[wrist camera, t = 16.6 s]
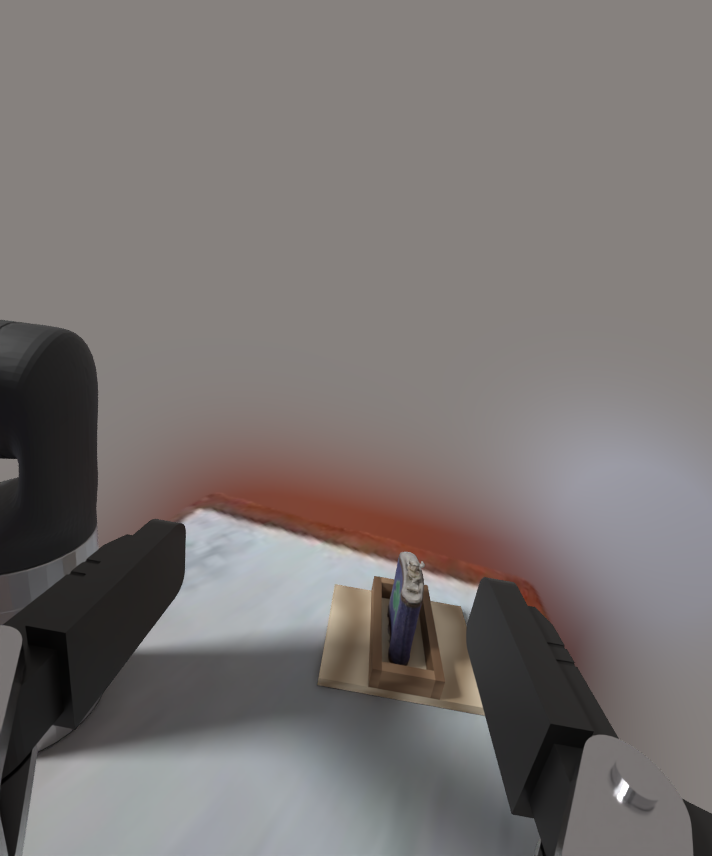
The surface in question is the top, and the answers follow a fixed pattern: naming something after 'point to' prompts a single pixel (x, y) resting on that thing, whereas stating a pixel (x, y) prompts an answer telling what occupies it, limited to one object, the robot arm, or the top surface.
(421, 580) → the flask
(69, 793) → the top surface
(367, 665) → the slot board
